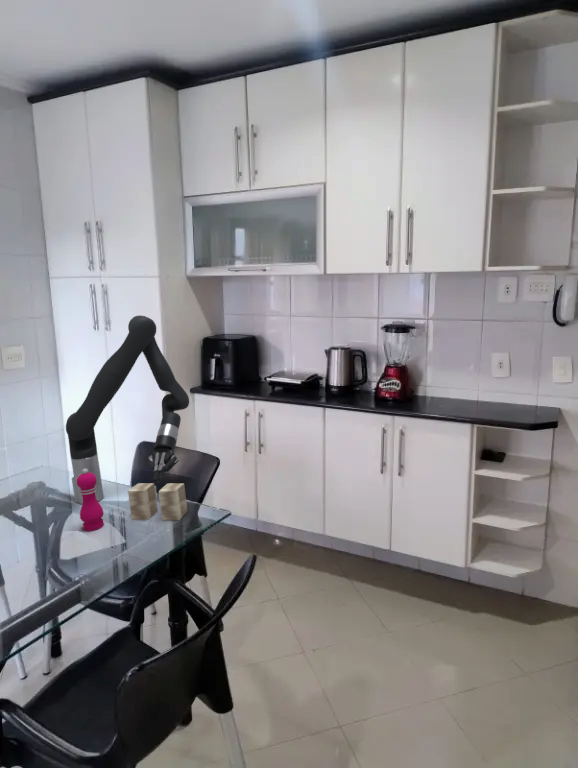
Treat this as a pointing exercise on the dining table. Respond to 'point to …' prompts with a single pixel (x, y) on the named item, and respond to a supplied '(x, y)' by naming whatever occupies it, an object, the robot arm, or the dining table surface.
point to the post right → (173, 501)
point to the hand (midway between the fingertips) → (156, 481)
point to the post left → (142, 501)
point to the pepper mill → (89, 502)
